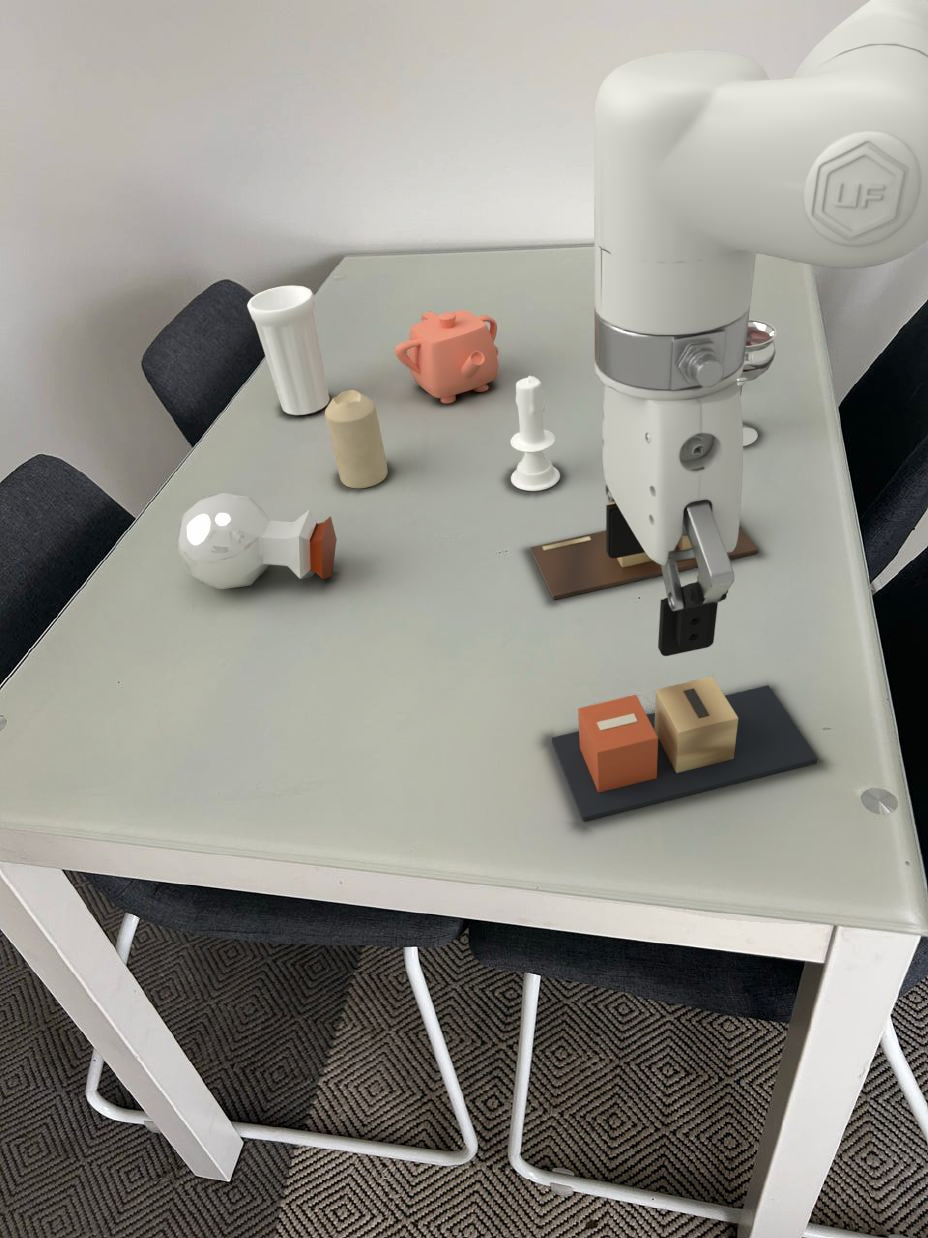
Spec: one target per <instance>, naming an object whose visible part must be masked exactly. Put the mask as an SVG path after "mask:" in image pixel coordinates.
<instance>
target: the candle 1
mask: <svg viewBox="0 0 928 1238" xmlns="http://www.w3.org/2000/svg"><path fill="white" fill-rule="evenodd" d="M324 416H325V421H326V424H327V428H328V433H329V438H330V442H331V446H332V450H333V454H334V459H335V463H336V467H337V471H338V475H339V480H340V481H341V483H342V484H343V485H344V486H346V487H348V488H352V489H365V488H370V487H374V486H376V485H378V484H380V483H381V482H383V481H384V480H385V479H386V478H387V476H388V473H389V472H388V463H387V459H386V454H385V448H384V443H383V442H384V441H383V437H382V433H381V427H380V423H379V417H378V412H377V407H376V403H375V401H374V400H373V399H372V398H370V397H368V396H367V395H365V394H362V393H361V392H360V391H358V390H356V389H349V390H345V391H342V392H339V394H338V395H337V396H334V397H332V399H331V401H329V403H328V404H327V407H326V408H325V410H324Z"/></svg>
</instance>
